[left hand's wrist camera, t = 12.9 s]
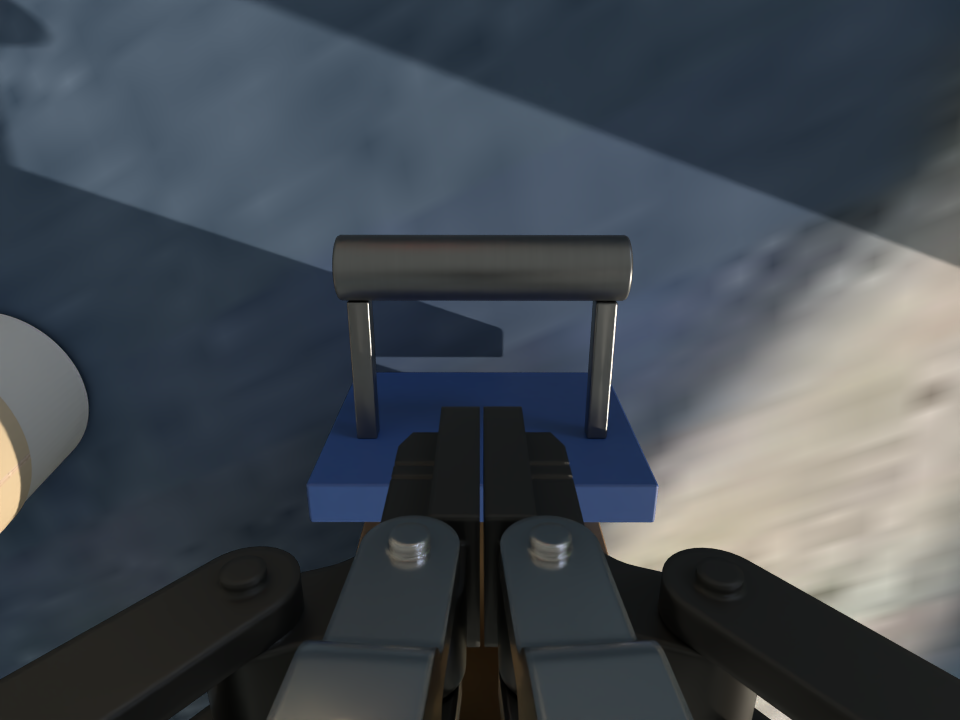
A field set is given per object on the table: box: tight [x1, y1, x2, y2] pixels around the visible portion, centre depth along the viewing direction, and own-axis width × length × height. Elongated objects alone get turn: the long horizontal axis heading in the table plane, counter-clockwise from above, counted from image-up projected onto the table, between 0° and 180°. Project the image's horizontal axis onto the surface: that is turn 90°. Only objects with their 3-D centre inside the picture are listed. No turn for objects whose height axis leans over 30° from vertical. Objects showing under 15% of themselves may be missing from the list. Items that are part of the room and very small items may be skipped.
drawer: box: [306, 235, 658, 720], centre depth 23 cm, size 25×9×8 cm, turn 0°
